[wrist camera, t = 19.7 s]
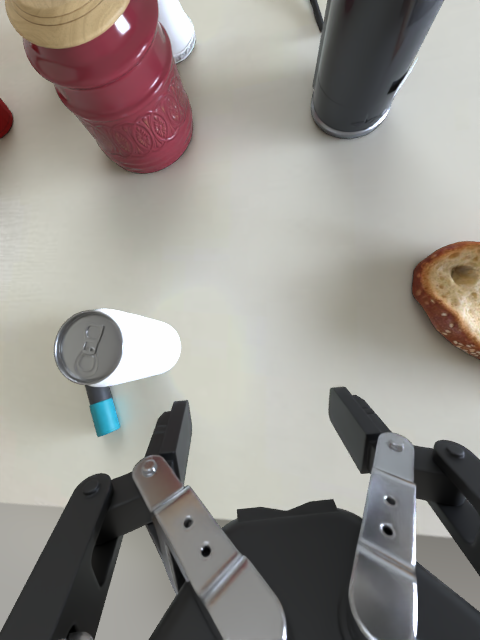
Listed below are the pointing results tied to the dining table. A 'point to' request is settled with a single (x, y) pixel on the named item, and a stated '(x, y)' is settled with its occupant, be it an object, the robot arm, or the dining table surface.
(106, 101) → the kitchen canister
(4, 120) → the plastic cup
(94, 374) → the can
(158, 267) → the dining table surface
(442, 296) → the bread slice
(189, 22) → the vase
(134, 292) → the dining table surface
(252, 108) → the dining table surface
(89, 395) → the marker
